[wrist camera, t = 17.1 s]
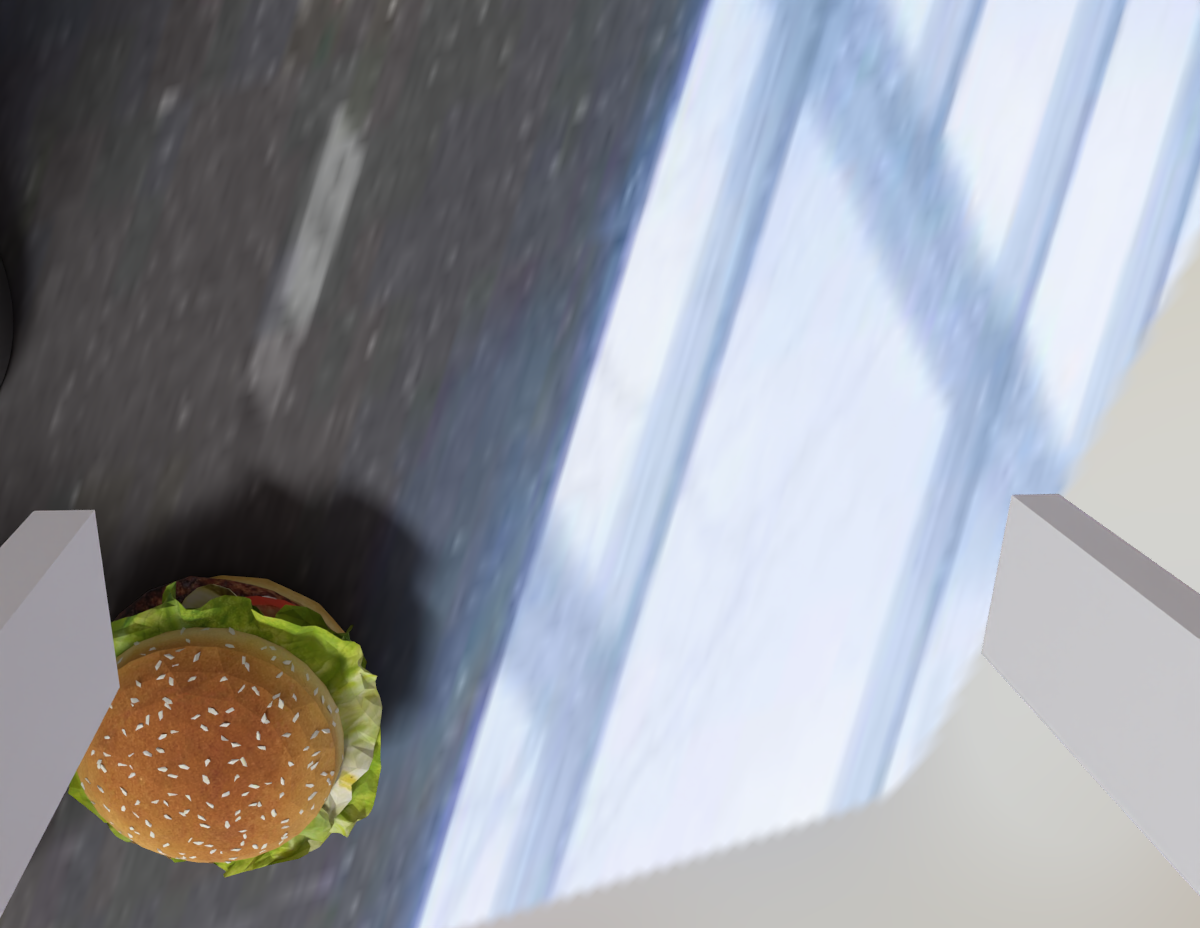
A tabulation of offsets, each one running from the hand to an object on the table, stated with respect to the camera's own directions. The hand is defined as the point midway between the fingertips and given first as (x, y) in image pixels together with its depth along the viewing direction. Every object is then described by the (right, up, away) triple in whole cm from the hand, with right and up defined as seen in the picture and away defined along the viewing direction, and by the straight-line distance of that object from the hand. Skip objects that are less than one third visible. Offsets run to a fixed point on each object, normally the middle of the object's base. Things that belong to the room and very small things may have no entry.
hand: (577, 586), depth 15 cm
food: (-16, -9, +35) cm, 39 cm away
